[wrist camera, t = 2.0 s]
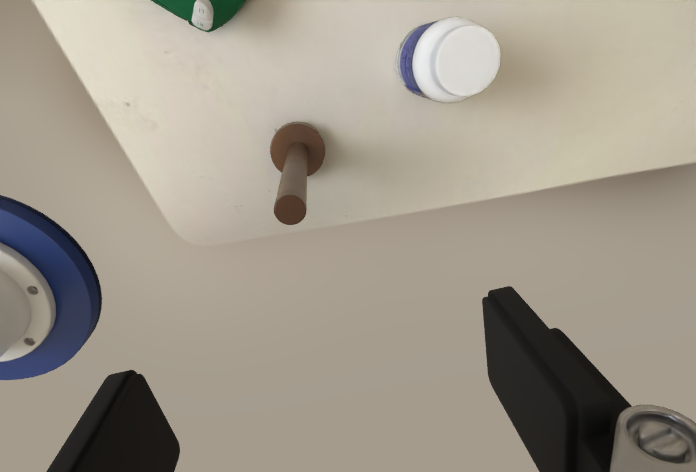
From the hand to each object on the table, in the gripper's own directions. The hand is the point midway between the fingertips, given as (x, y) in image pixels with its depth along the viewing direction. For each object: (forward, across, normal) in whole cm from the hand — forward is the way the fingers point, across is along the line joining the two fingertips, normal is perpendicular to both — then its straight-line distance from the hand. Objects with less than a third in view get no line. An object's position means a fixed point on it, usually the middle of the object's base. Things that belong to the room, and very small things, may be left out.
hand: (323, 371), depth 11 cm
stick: (+26, +1, -1) cm, 26 cm away
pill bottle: (+26, -11, -6) cm, 29 cm away
